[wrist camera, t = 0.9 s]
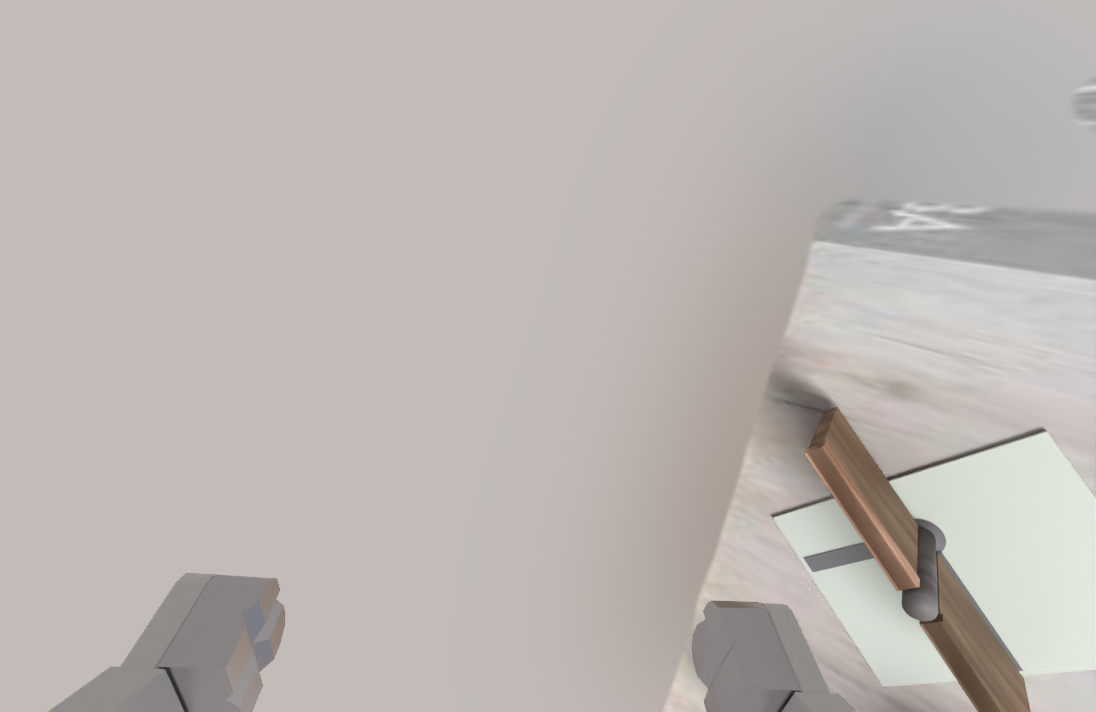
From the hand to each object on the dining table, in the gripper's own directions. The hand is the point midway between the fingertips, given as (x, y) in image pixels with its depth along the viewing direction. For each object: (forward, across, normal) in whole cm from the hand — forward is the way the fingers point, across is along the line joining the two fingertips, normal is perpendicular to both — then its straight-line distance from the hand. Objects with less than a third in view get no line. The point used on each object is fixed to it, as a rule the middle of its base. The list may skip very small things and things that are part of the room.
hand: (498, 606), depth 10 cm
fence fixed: (+21, -41, +27) cm, 54 cm away
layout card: (+22, -40, +26) cm, 53 cm away
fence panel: (+28, -33, +19) cm, 47 cm away
